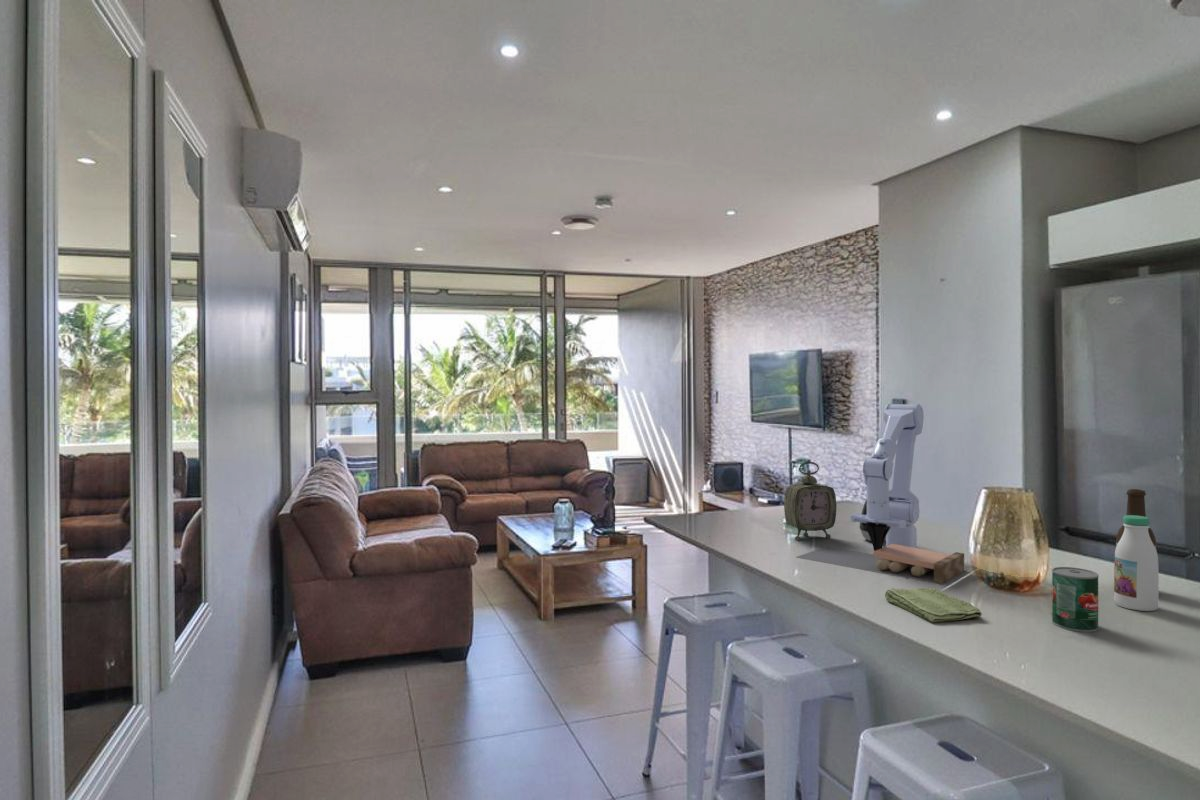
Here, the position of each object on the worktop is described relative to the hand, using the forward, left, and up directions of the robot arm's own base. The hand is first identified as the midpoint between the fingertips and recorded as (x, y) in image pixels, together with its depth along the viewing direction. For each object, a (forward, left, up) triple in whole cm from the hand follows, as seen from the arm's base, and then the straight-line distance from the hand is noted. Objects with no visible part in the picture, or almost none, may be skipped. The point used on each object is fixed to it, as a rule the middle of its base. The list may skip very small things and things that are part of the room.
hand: (877, 550), depth 189 cm
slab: (0, +10, -1) cm, 10 cm away
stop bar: (0, +19, -4) cm, 19 cm away
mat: (0, 0, -4) cm, 4 cm away
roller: (0, +11, -2) cm, 12 cm away
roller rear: (0, +3, -3) cm, 4 cm away
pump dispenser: (-29, -13, -4) cm, 32 cm away
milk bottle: (-4, +56, -4) cm, 56 cm away
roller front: (0, +9, -1) cm, 9 cm away
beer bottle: (-19, +54, -4) cm, 57 cm away
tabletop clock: (-17, -30, -4) cm, 35 cm away
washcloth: (+28, +24, -5) cm, 38 cm away
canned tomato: (+19, +49, -4) cm, 53 cm away
